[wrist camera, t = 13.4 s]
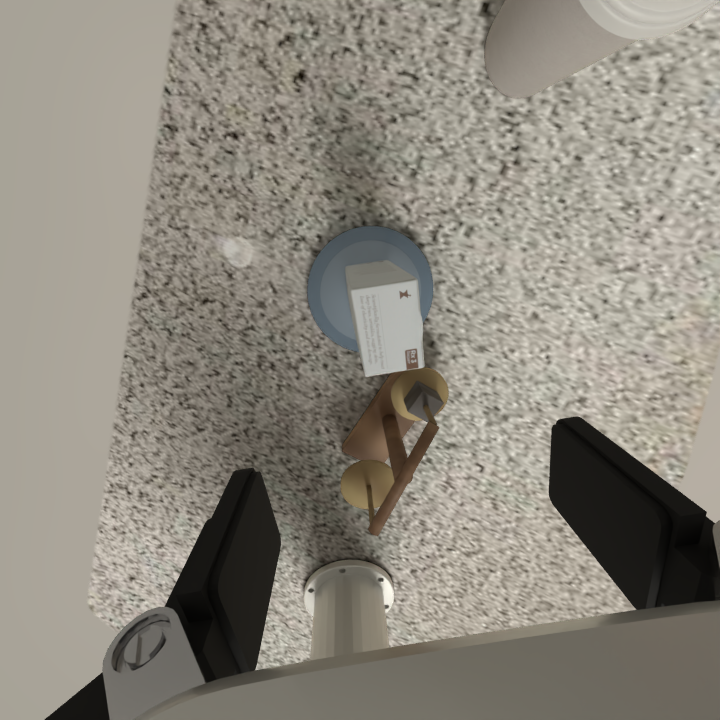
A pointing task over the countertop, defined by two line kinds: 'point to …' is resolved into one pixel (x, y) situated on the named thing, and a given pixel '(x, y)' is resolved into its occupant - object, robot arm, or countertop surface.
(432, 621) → the countertop surface
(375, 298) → the skincare box
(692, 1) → the coffee cup
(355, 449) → the balance
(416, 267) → the dish
